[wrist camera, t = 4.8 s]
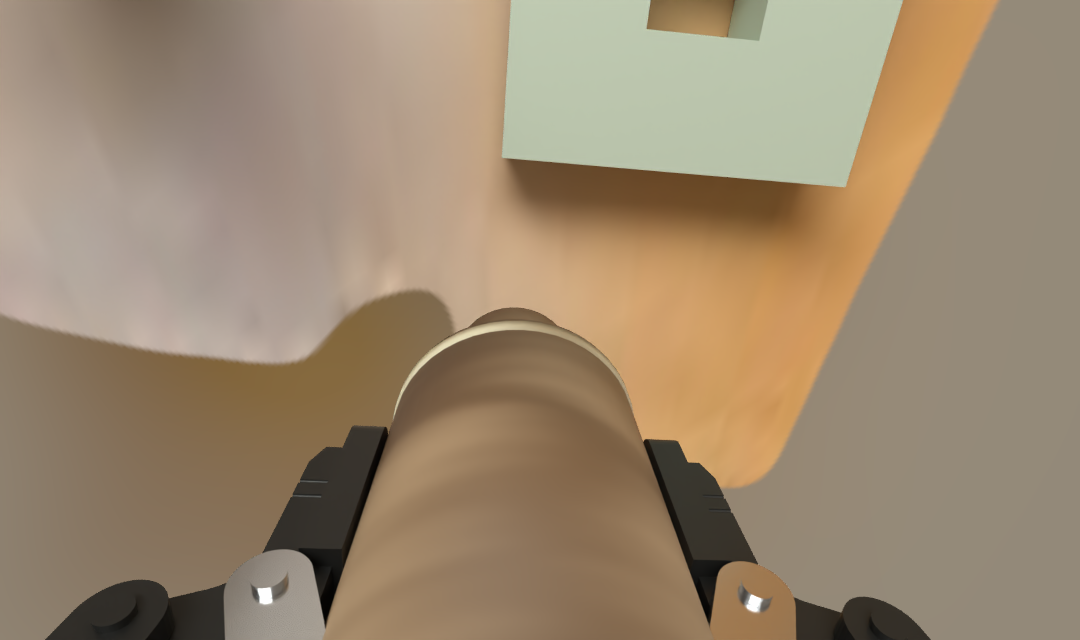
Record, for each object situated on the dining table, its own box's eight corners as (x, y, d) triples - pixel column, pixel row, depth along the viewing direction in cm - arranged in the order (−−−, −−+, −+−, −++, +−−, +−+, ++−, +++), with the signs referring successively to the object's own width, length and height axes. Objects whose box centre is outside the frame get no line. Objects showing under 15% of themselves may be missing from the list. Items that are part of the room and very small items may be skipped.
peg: (417, 433, 19) (300, 898, 8) (417, 262, 16) (248, 615, 6) (594, 440, 19) (698, 888, 9) (621, 276, 17) (810, 624, 6)
